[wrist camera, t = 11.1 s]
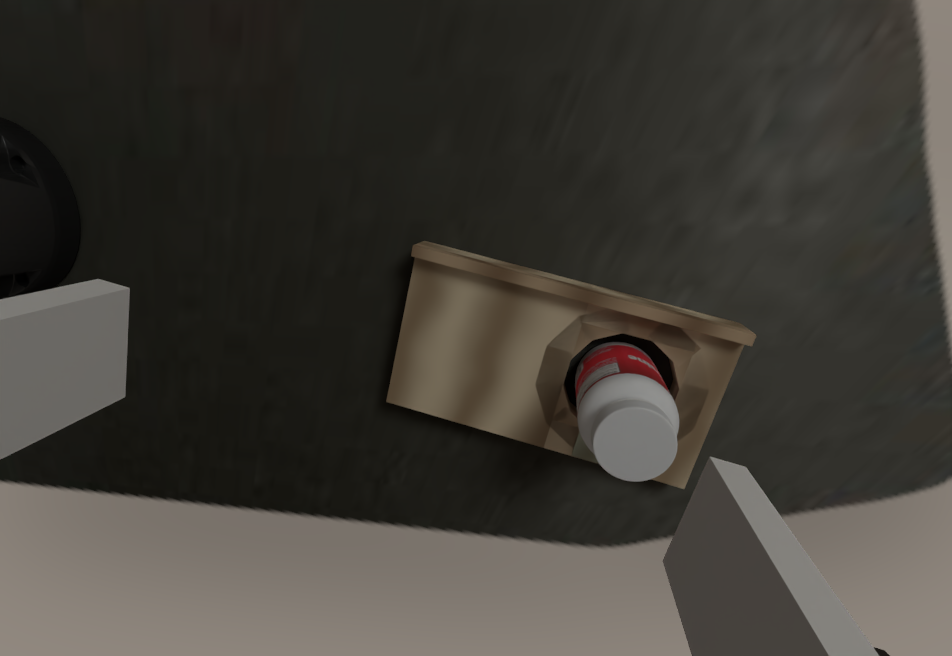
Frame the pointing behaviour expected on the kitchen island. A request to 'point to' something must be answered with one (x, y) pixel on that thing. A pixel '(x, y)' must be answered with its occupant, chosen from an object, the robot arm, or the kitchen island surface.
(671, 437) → the pill bottle
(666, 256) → the kitchen island surface
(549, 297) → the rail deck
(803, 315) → the kitchen island surface
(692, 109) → the kitchen island surface
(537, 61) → the kitchen island surface
